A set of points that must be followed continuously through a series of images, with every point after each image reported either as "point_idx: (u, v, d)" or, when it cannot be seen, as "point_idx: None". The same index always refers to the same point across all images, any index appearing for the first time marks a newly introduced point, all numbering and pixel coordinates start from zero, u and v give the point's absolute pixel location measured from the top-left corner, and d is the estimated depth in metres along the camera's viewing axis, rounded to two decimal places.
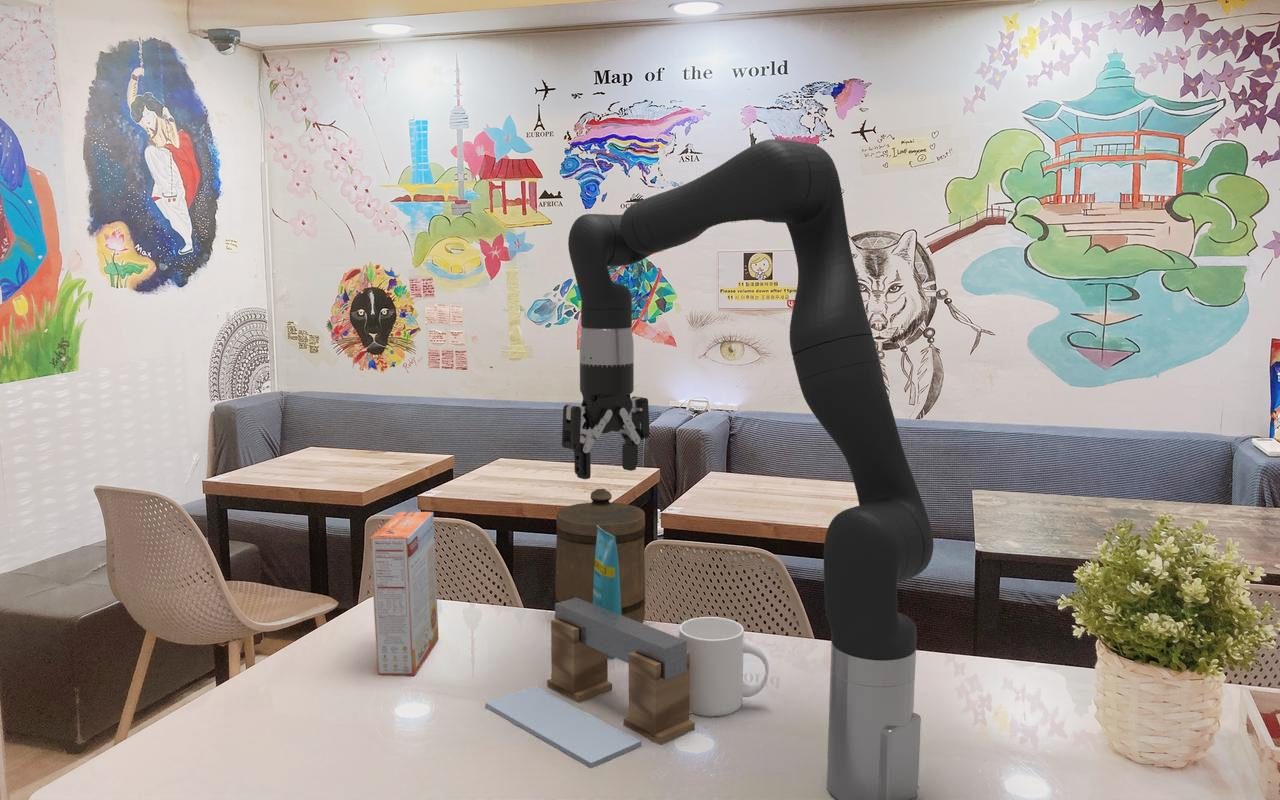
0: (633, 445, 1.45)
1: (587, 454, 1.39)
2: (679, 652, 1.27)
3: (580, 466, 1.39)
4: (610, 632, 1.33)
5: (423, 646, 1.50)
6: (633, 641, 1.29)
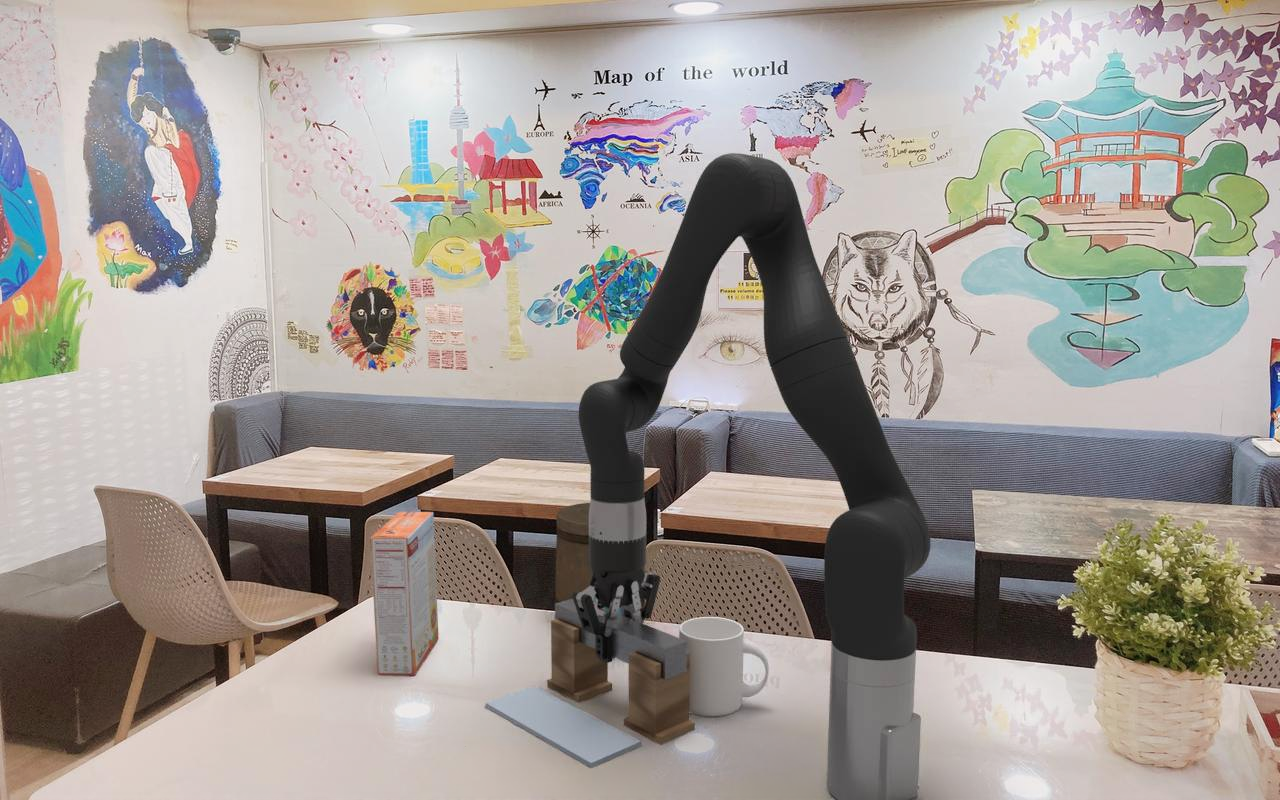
0: None
1: (609, 637, 1.32)
2: (679, 652, 1.27)
3: (601, 650, 1.32)
4: None
5: (423, 646, 1.50)
6: (633, 641, 1.29)
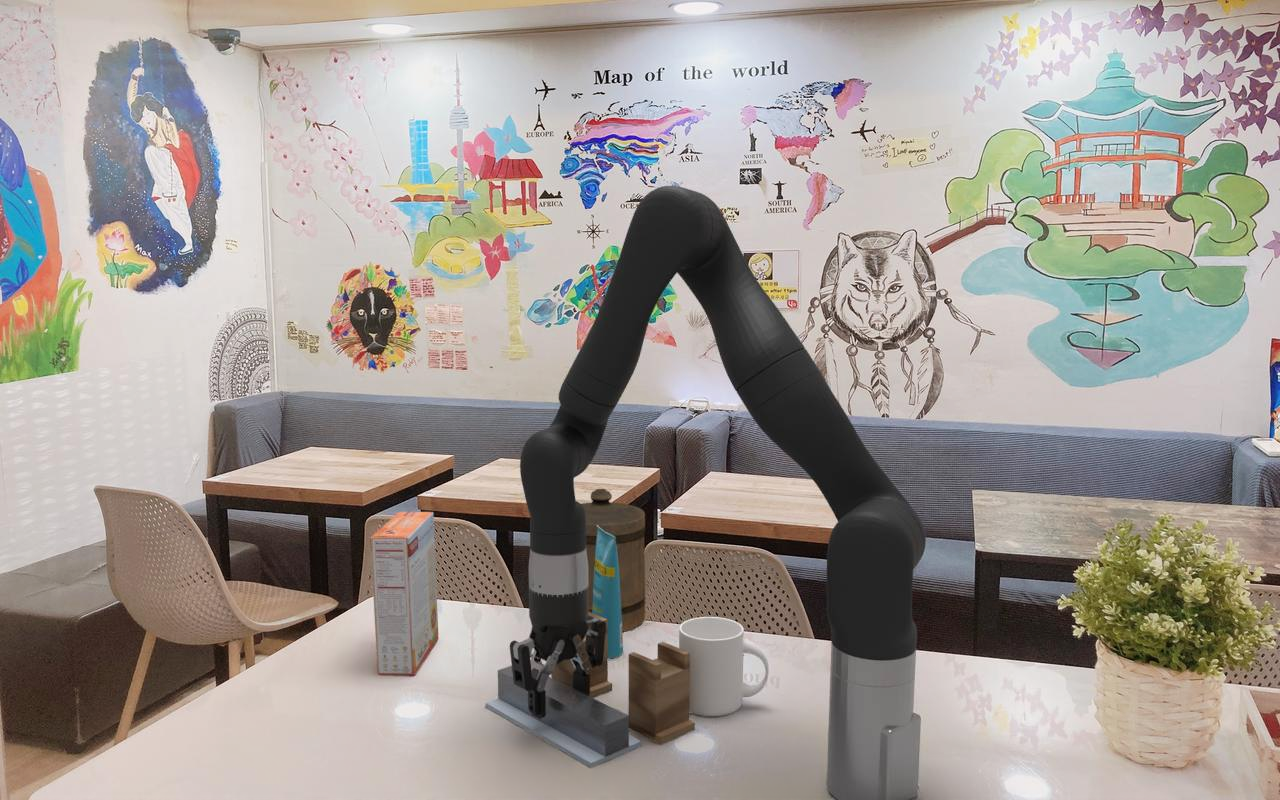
0: (584, 675, 1.31)
1: (542, 692, 1.27)
2: (621, 727, 1.23)
3: (534, 705, 1.27)
4: (551, 704, 1.28)
5: (423, 646, 1.50)
6: (574, 715, 1.25)
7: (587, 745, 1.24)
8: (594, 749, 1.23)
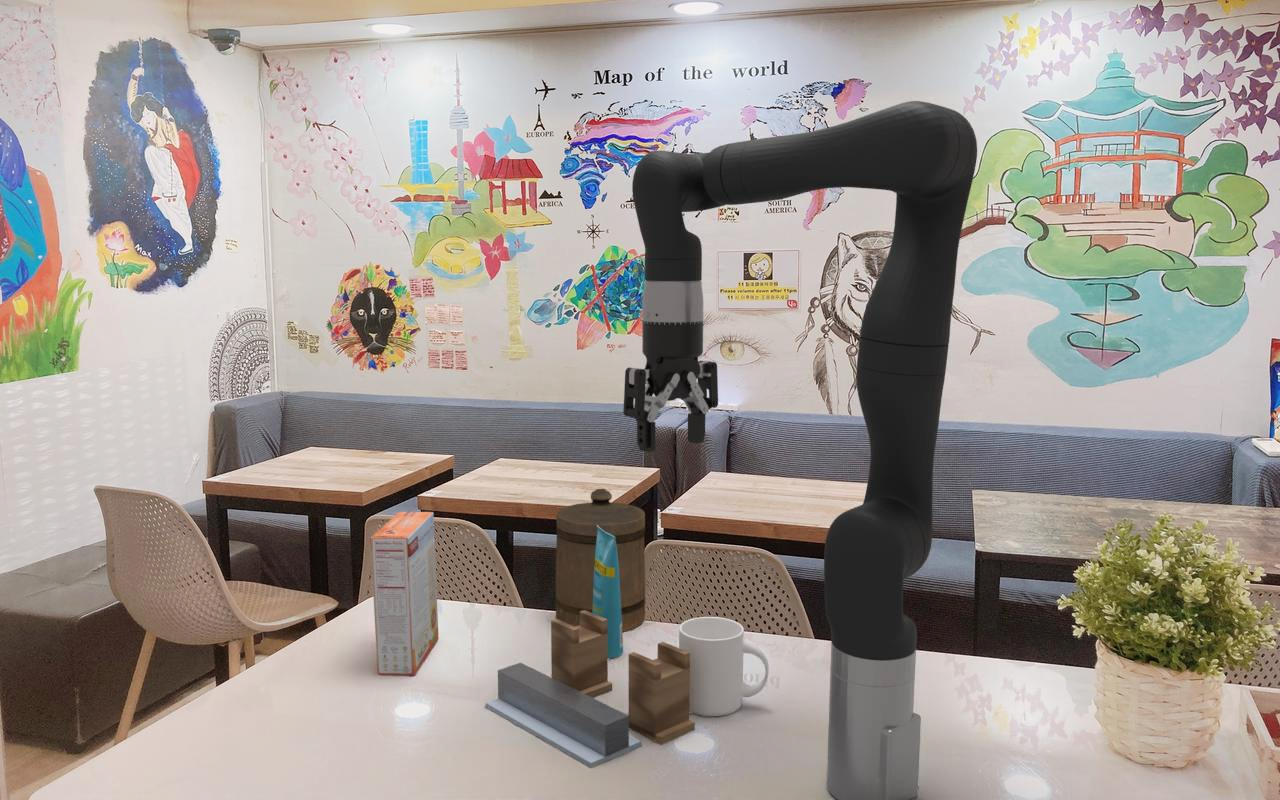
0: (700, 415, 1.29)
1: (652, 423, 1.23)
2: (621, 727, 1.23)
3: (644, 437, 1.23)
4: (551, 704, 1.28)
5: (423, 646, 1.50)
6: (574, 715, 1.25)
7: (587, 745, 1.24)
8: (594, 749, 1.23)
